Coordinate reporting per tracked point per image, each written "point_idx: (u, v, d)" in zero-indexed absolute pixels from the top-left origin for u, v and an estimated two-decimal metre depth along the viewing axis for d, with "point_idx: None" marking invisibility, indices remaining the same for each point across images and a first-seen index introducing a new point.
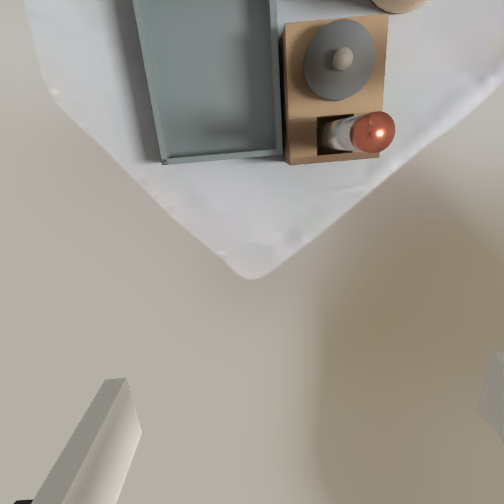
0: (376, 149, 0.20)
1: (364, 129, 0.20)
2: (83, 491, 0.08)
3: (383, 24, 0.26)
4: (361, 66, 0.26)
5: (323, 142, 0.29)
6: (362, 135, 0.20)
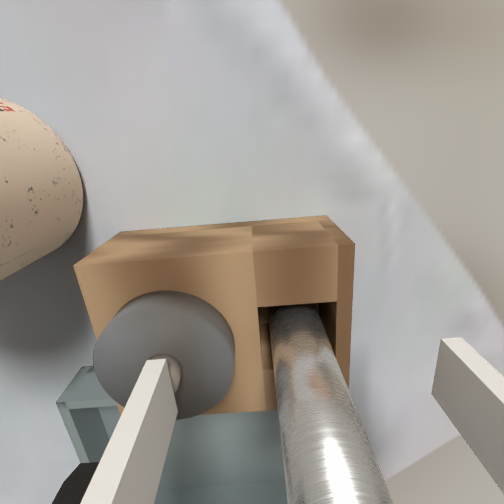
0: None
1: None
2: (140, 455, 0.09)
3: (92, 272, 0.13)
4: (169, 332, 0.12)
5: None
6: None
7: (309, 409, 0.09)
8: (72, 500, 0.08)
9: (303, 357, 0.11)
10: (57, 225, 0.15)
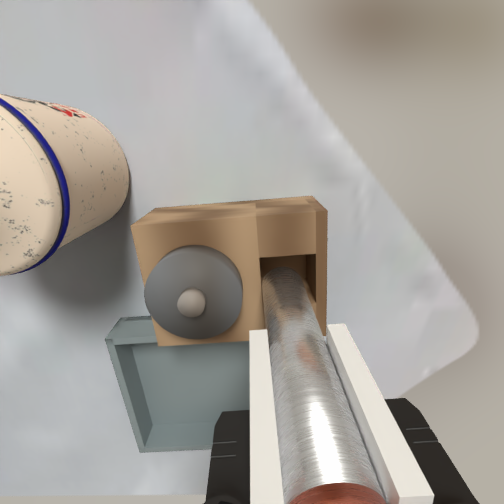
0: None
1: None
2: None
3: (143, 230, 0.18)
4: (198, 271, 0.18)
5: None
6: None
7: (296, 374, 0.10)
8: (229, 438, 0.09)
9: (292, 334, 0.12)
10: (114, 200, 0.20)
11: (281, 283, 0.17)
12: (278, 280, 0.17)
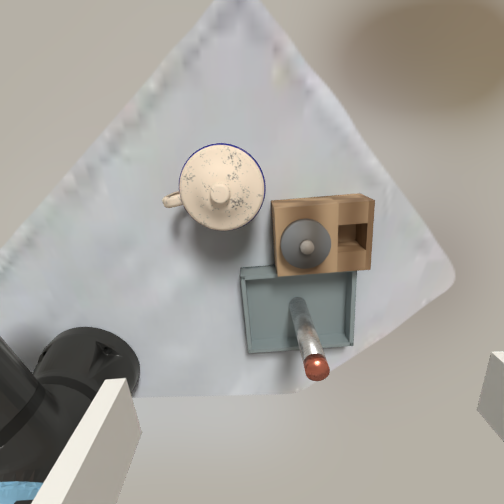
0: (327, 370, 0.32)
1: (315, 377, 0.33)
2: (83, 491, 0.08)
3: (280, 211, 0.36)
4: (311, 231, 0.35)
5: None
6: (318, 377, 0.33)
7: (305, 334, 0.36)
8: None
9: (303, 323, 0.38)
10: None
11: (298, 304, 0.43)
12: (297, 303, 0.43)
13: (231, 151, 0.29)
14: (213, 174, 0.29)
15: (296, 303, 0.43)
